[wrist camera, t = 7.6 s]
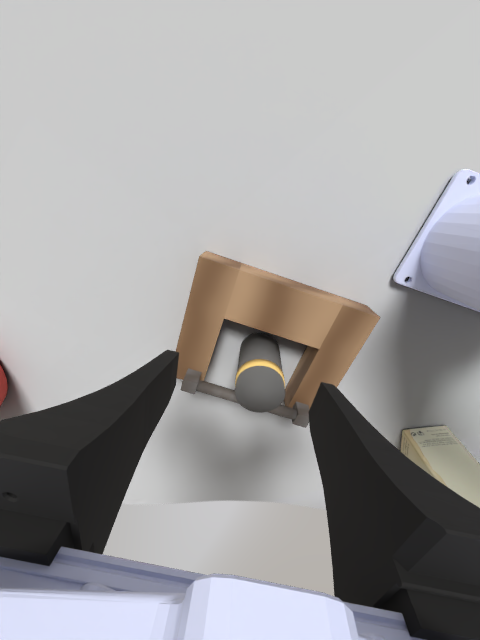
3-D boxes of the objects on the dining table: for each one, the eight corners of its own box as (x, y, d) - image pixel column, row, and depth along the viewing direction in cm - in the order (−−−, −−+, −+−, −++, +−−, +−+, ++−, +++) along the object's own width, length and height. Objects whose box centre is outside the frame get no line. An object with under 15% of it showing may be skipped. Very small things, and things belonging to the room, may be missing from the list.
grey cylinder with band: (288, 348, 23) (297, 391, 17) (261, 372, 24) (262, 420, 19) (257, 324, 22) (256, 362, 17) (232, 351, 23) (223, 394, 18)
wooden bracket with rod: (366, 305, 21) (389, 326, 17) (311, 401, 25) (319, 433, 21) (206, 251, 20) (194, 260, 16) (178, 360, 24) (163, 386, 21)
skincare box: (400, 427, 26) (507, 592, 15) (447, 423, 25) (596, 592, 14) (398, 468, 28) (488, 635, 17) (441, 465, 28) (563, 637, 16)
